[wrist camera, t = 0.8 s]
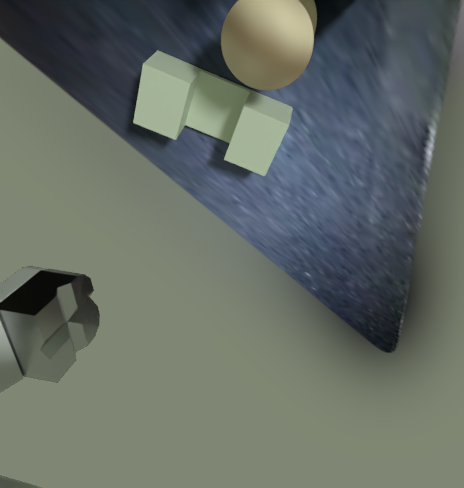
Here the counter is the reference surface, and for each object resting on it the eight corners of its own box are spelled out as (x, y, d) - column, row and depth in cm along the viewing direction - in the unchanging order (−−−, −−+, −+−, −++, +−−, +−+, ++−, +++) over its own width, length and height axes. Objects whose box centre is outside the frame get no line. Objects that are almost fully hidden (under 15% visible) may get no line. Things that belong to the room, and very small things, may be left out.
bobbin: (253, -42, 37) (238, -28, 31) (331, -6, 38) (330, 14, 32) (227, 44, 43) (210, 70, 37) (296, 74, 43) (289, 103, 38)
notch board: (157, 50, 45) (143, 63, 41) (292, 107, 46) (289, 125, 43) (147, 106, 49) (133, 122, 46) (269, 156, 51) (264, 176, 47)
